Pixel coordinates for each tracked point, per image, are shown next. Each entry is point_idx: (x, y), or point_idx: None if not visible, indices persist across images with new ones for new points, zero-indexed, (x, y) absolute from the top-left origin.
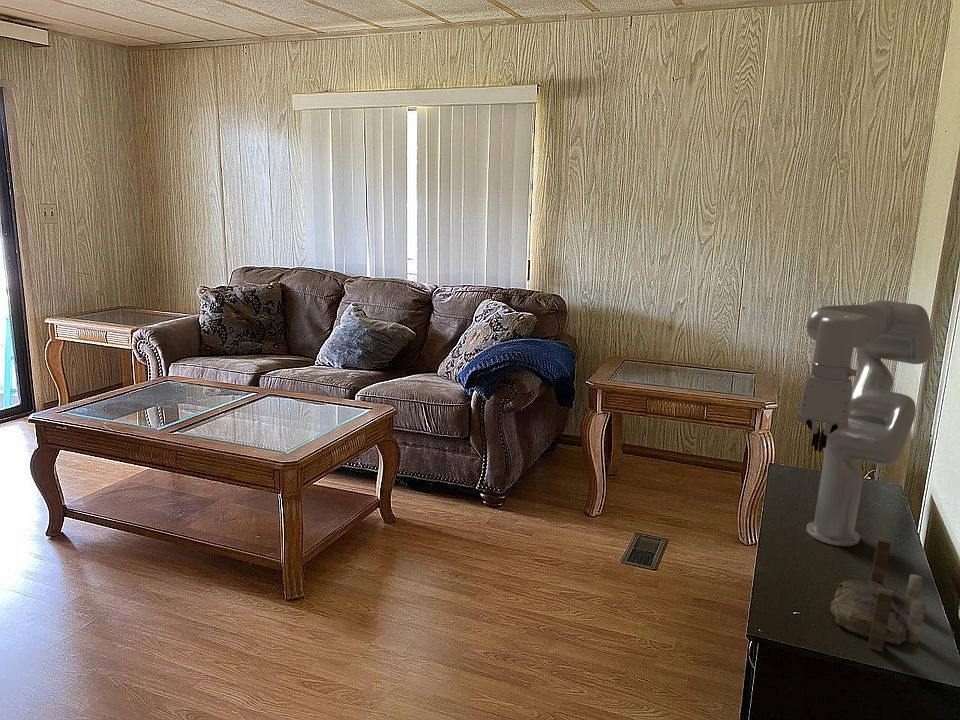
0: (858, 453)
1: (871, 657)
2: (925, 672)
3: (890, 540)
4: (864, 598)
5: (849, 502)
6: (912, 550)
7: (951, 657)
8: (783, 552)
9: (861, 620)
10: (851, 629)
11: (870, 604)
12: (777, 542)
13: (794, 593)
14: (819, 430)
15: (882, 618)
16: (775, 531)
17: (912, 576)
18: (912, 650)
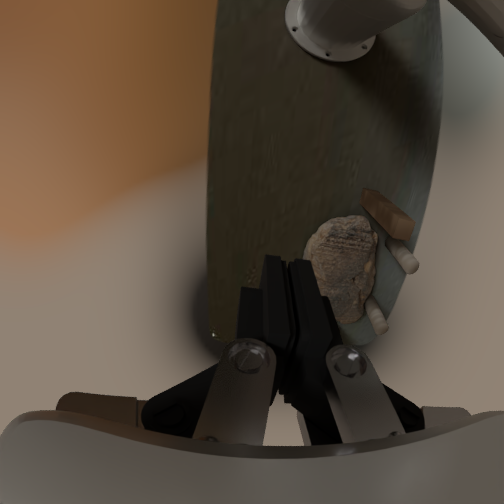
0: (457, 5)
1: None
2: (357, 340)
3: (413, 226)
4: (334, 291)
5: (377, 31)
6: (440, 55)
7: (391, 311)
8: (239, 120)
9: None
10: None
11: (337, 301)
12: (229, 84)
13: (251, 252)
14: (276, 391)
15: None
16: (227, 41)
17: (408, 266)
18: None
